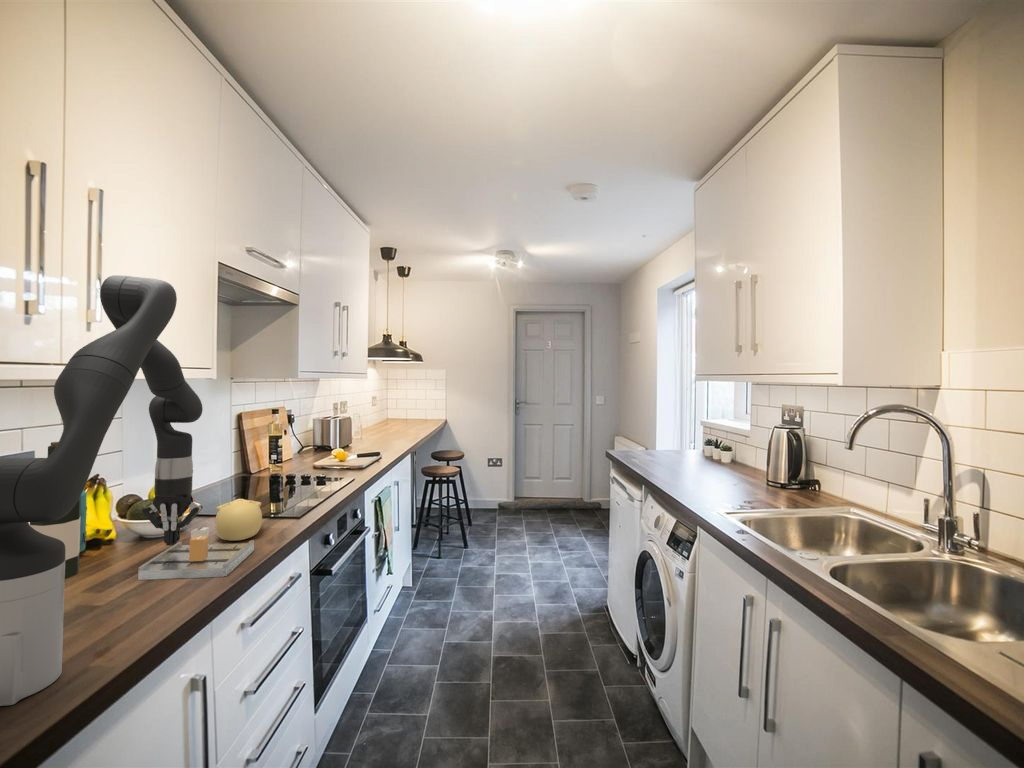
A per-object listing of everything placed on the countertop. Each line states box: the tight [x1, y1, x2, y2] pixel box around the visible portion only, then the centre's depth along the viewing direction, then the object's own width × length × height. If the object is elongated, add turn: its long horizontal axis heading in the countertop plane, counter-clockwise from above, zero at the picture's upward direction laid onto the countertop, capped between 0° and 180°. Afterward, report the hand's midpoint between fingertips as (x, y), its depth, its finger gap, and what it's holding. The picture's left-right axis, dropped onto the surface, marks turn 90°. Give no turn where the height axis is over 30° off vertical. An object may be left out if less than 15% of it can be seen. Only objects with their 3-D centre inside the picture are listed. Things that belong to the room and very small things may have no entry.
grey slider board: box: [137, 539, 255, 581], centre depth 110 cm, size 16×18×3 cm
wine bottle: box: [29, 441, 81, 580], centre depth 101 cm, size 8×8×30 cm
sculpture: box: [214, 498, 263, 542], centre depth 129 cm, size 12×12×11 cm
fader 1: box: [190, 526, 210, 542], centre depth 113 cm, size 2×3×5 cm
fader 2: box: [189, 536, 210, 561], centre depth 107 cm, size 2×3×5 cm
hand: (171, 544), depth 112 cm, fingers closed
